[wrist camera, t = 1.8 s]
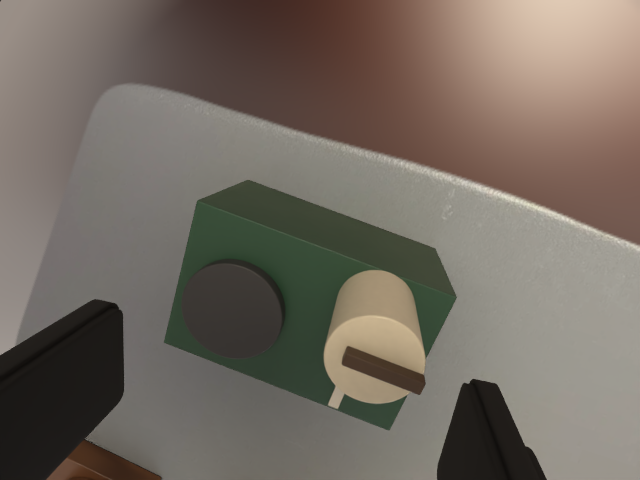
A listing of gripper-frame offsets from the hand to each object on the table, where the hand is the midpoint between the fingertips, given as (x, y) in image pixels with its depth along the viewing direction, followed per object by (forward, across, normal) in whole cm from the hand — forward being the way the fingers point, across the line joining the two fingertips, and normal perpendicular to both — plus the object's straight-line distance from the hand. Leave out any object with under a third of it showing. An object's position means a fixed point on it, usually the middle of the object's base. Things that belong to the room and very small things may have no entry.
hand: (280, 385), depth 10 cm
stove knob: (+10, -3, +2) cm, 10 cm away
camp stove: (+18, +1, +4) cm, 18 cm away
